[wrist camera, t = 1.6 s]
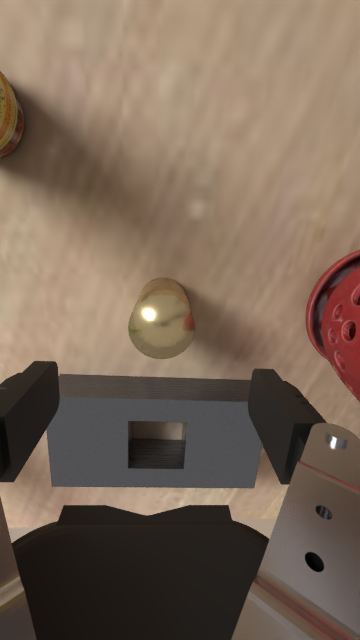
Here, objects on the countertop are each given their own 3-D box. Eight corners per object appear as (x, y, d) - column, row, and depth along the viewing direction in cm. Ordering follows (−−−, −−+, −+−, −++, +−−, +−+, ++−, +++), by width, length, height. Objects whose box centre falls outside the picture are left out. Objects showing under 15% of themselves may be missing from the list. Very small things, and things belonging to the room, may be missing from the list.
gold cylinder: (188, 279, 25) (196, 298, 18) (185, 324, 27) (192, 360, 19) (140, 276, 25) (128, 294, 18) (139, 322, 27) (128, 357, 19)
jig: (255, 380, 29) (269, 402, 25) (243, 457, 32) (254, 488, 28) (60, 374, 28) (43, 396, 24) (66, 455, 31) (51, 486, 27)
